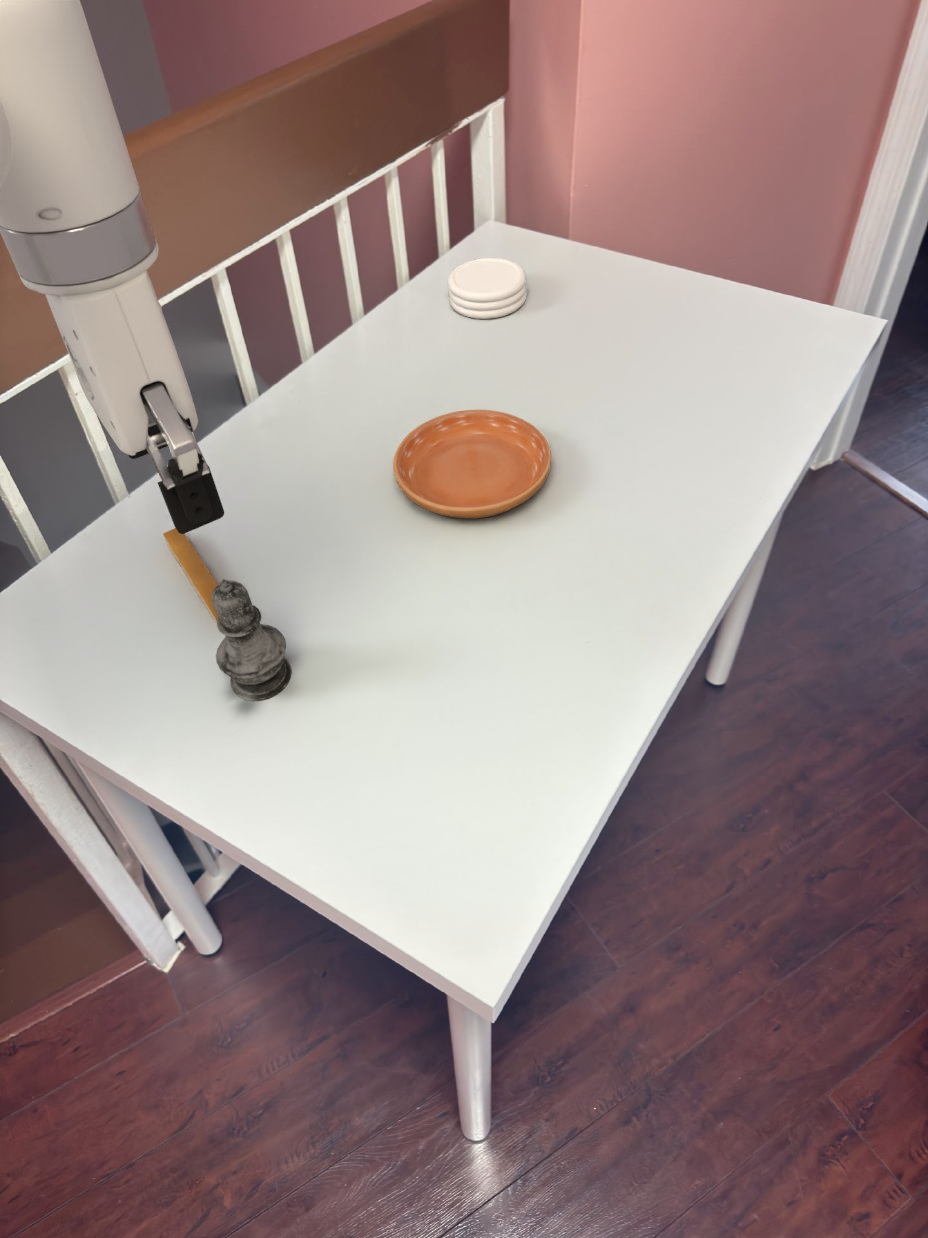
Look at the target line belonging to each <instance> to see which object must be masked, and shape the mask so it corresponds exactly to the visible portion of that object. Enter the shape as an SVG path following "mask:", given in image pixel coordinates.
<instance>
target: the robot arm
mask: <svg viewBox="0 0 928 1238" xmlns="http://www.w3.org/2000/svg"><path fill="white" fill-rule="evenodd" d="M135 172H136V171H135V170H134V166H133V162H132V160H131V157H130V154H129V151H128V147H127V144H126V140H125V138H124V134H123V132H122V128H121V125H120V122H119V118H118V115H117V113H116V109H115V106H114V102H113V99H112V96H111V94H110V90H109V87H108V84H107V81H106V78H105V75H104V72H103V68H102V65H101V62H100V59H99V56H98V53H97V49H96V46H95V43H94V39H93V37H92V33H91V29H90V28H89V24H88V21H87V19H86V15H85V11H84V8H83V6H82V3H81V0H0V236H1V237H2V240H3V242H4V244H5V245H4V246H5V247H6V250H7V251H8V253H9V256H10V258H11V261H12V262H13V265H14V267H15V269H16V271H17V274H18V275H19V276H18V277H19V278H20V281H21V282H22V284H23V286H25V287H26V288H27V289H29V290H31V291H34V292H36V293H38V294H40V295H41V294H43V295H45V298H46V301H47V303H48V306H49V308H50V311H51V313H52V316H53V319H54V321H55V323H56V326H57V329H58V331H59V334H60V337H61V339H62V342H63V344H64V346H65V348H66V351H67V353H68V356H69V358H70V361H71V364H72V367H73V369H74V371H75V375H76V377H77V379H78V382H79V384H80V387H81V390H82V392H83V394H84V395H85V398H86V400H87V401H88V403H89V405H90V407H91V408H92V410H93V411H94V413H95V414H96V416H97V417H98V419H99V421H100V422H101V424H102V426H103V427H104V428H105V430H106V432H107V433H108V435H109V436H110V438H111V439H112V441H113V442H114V443H115V445H116V446H117V448H118V449H119V451H120V452H122V453H124V454H126V455H127V456H128V457H129V458H130V459H132V460H136V459H140V458H141V457H144V456H147V455H149V457H150V459H151V461H152V463H153V465H154V467H155V469H156V472H157V473H158V475H159V477H160V480H161V481H158V482H157V486H158V487H159V491H160V493H161V495H162V498H163V501H164V503H165V506H166V509H167V511H168V513H169V516H170V518H171V521H172V523H173V526H174V528H176V529H177V531H178V532H179V533H180V534H185V535H186V534H187V533H189V532H192V531H194V530H197V529H199V528H201V527H204V526H206V525H209V524H210V523H213V522H215V521H218V520H220V519H221V518H223V517H224V515H225V509H224V507H223V504H222V500H221V497H220V495H219V491H218V489H217V486H216V482H215V480H214V476H213V474H212V471H211V468H210V466H209V465H208V463H207V461H206V459H205V457H204V455H203V452H202V451H201V448H200V446H199V444H198V443H197V440H196V438H195V436H194V432H195V430H196V429H197V427H198V425H199V419H198V414H197V409H196V406H195V403H194V400H193V396H192V393H191V390H190V386H189V384H188V380H187V378H186V375H185V372H184V369H183V366H182V363H181V360H180V357H179V355H178V352H177V348H176V345H175V343H174V340H173V337H172V334H171V332H170V329H169V326H168V323H167V321H166V318H165V315H164V312H163V307H162V305H161V304H160V302H159V299H158V296H157V294H156V291H155V288H154V286H153V283H152V280H151V278H150V275H149V272H148V269H150V268H151V267H152V266H153V265H154V263H156V261H157V259H158V257H159V254H160V253H159V252H160V248H159V244H158V241H157V238H156V235H155V232H154V229H153V226H152V223H151V220H150V216H149V214H148V209H147V207H146V204H145V200H144V198H143V194H142V192H141V191H142V190H141V188H140V185H139V182H138V179H137V176H136V173H135ZM166 447H168V449H169V454H170V456H171V457H172V458H170V459H168V460H167V463H166V461H165V459H164V456H163V455H162V452H161V451H160V450H161V449H165V448H166Z"/></svg>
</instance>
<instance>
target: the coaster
mask: <svg viewBox="0 0 928 1238" xmlns="http://www.w3.org/2000/svg"><path fill="white" fill-rule="evenodd" d="M526 280H527V275H526V271H525V270H524V268H523V267H522V266H521V265H520V264H518V263H517V262H515V261H513V260H510V259H505V258H499V257H481V258H476V259H472V260H468V261H466V262H464V263H461V264H459V265H458V266H456V267H455V268H454V269H453V270H452V271H451V272H450V273H449V275H448V278H447V287H448V296H449V297H448V302H449V305H450V307H451V308H452V310H454V311H455V312H456V313H458V314H460V315H461V316H464V317H466V318H470V319H477V320H490V319H499V318H502V317H505V316H508V315H510V314H512V313H514V312H516V311H517V310H519V309H520V308H522V306H523V305H524V304H525V302H526V299H527V296H528V295H527V282H526Z"/></svg>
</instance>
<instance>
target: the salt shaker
mask: <svg viewBox="0 0 928 1238" xmlns="http://www.w3.org/2000/svg"><path fill="white" fill-rule="evenodd" d="M212 603H213V605H214V608H215V610H216V613H217V615H218V619H217V624H216V628H217V630H218V632H220V633H221V634H222V635H223V636H225V637H224V638H223V639H222V640H221V641H220V643H219V645H218V647H217V649H216V653H215V663H216V664H217V666H218V668H219V670H220V671H221V672H222V673H223V674H224V675H226V676H228V677H229V678H230V682H229V683H230V687H231V689H232V691H233V693H234V694H235V695H236V696H237V697H238V698H240V699H243V700H244V701H250V702H262V701H265V700H269V699H271V698H273V697H275V696H277V695H278V694H280V693H281V692H283V691H284V690H285V688H286V687H287V686H288V685H289V683H290V680H291V678H292V666H291V664H290V662H289V660H288V659H287V658H286V657H285V654H286V649H287V642H286V638H285V636H284V635H283V633H282V632H281V631H280V630H279V629H278V628H276V627H274V626H272V625H270V624H264V623H261V621H262V613H261V610H260V609H259V608H258V607H257V606H255V605H254V604H253V602H252V600H251V597H250V594H249V591H248V590H247V587H246V586H245V585H244V584H243V583H241V582H239V581H236V580H228V579H225V578H223V579H221V582H220V583H219V584H218V586H217V587H216V588H215V589H214V591H213V592H212Z"/></svg>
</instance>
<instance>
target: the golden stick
mask: <svg viewBox="0 0 928 1238" xmlns="http://www.w3.org/2000/svg"><path fill="white" fill-rule="evenodd" d="M162 535H163V538H164V540H165V543H166V545H167V547H168V548H169V550H170V552H171V554H172V555H173V556H174V558H175V560H176V561H177V563H178V565H179V566H180V569H182V571H183V572H184V574H185V576H186V577H187V579H188V581H189V582H190V584H191V586H192V587H193V589H194V590H195V592H196V594H197V596H198V597H199V599H200V600H201V602H202V604H203V605H204V606H205V608H206V609H207V611H208V613H209V615H210V616H211V618H212V620H213V621H214V623H215V625H217V619H218V615H217V613H216V610H215V608H214V605H213V603H212V592H213V591H214V589H215V588H216V587H217V586H218V585H219V584H218V583H217V581H216V580H215V578H214V577H213V575H212V574H211V572H210V571H209V569H208V567H207V566H206V564H205V563H204V561H203V560H202V558H201V557H200V555H199V553H198V552H197V550H196V549H195V547H194V545H193V544H192V543H191V542H190V540H189V538H188V536H187V535H186V533H185V534H180V533H179V532H178V531H177V529H176V528H175V527H173V528H172V529H170V530H168V531H165V532H163V533H162Z"/></svg>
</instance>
